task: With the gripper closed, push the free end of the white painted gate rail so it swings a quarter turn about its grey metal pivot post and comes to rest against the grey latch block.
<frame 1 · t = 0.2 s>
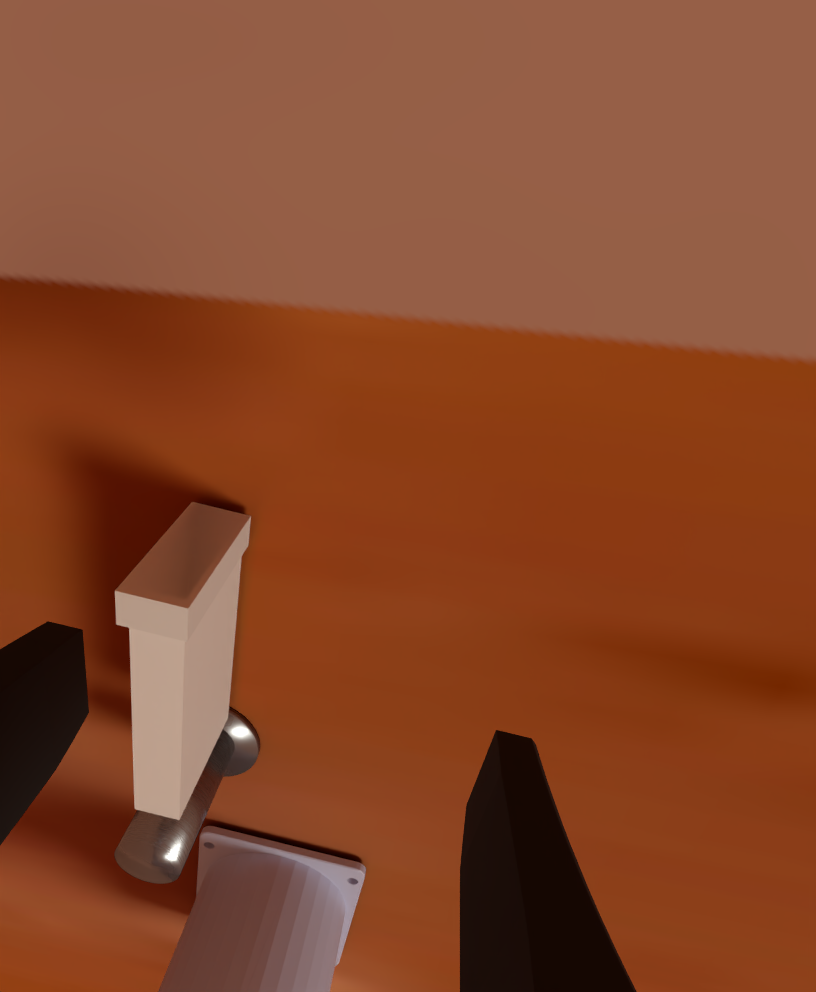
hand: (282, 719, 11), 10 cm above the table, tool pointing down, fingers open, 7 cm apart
pivot post: (210, 736, 27), on the table
gate: (186, 668, 21), point 3 cm above the table, hinge at 0.0°
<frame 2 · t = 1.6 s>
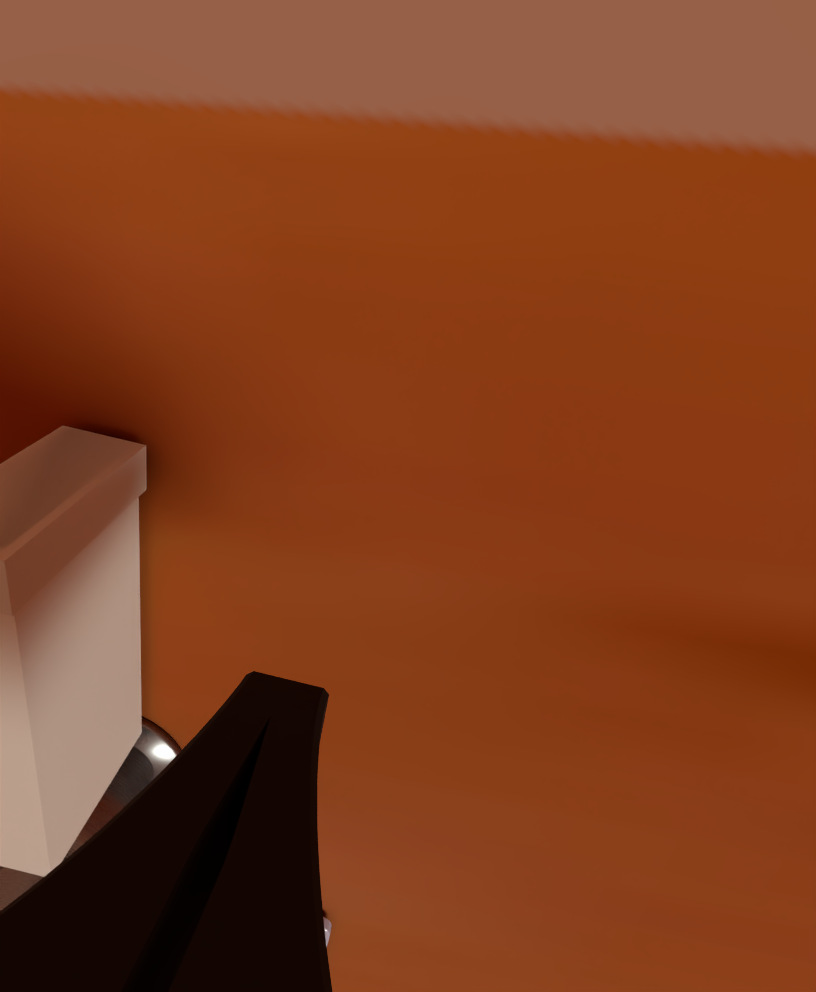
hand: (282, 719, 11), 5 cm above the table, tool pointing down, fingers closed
pivot post: (123, 756, 21), on the table
gate: (57, 663, 15), point 3 cm above the table, hinge at 0.0°
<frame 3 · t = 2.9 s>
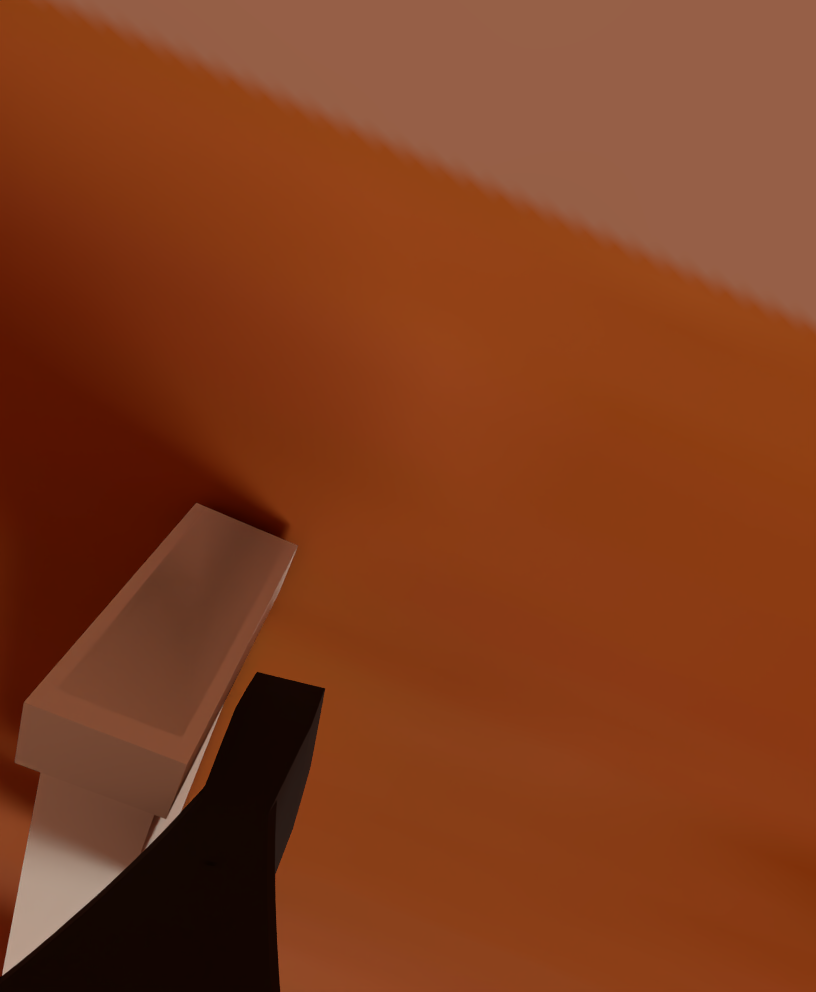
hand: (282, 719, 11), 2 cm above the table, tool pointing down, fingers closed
gate: (132, 792, 12), point 3 cm above the table, hinge at 4.8°, touching gripper
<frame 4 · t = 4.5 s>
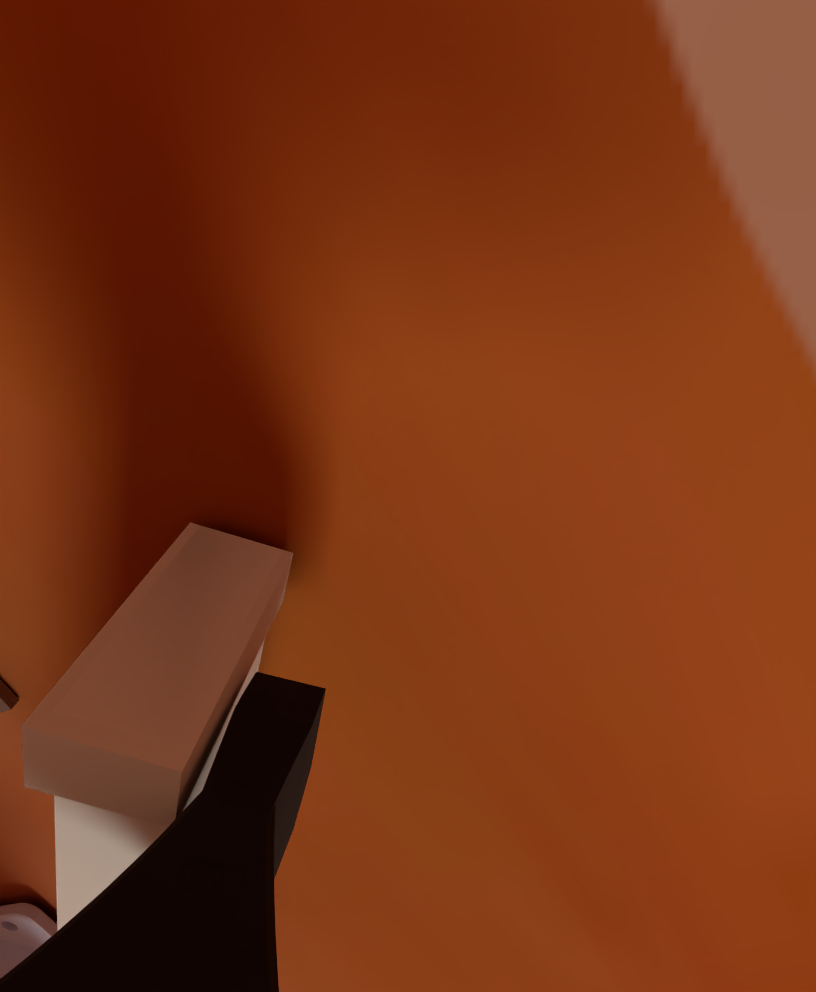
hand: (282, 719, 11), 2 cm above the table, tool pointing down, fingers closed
gate: (163, 812, 12), point 3 cm above the table, hinge at 50.6°, touching gripper
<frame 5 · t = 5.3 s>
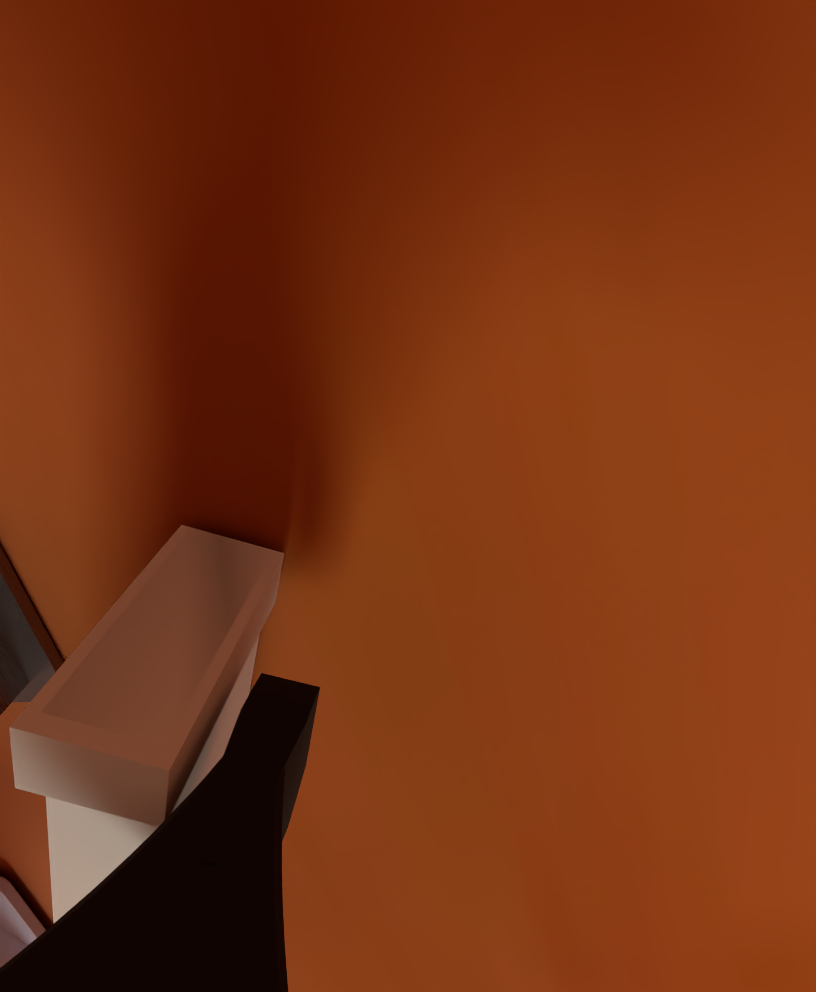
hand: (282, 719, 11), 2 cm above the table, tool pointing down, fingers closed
gate: (160, 813, 12), point 3 cm above the table, hinge at 66.3°, touching gripper
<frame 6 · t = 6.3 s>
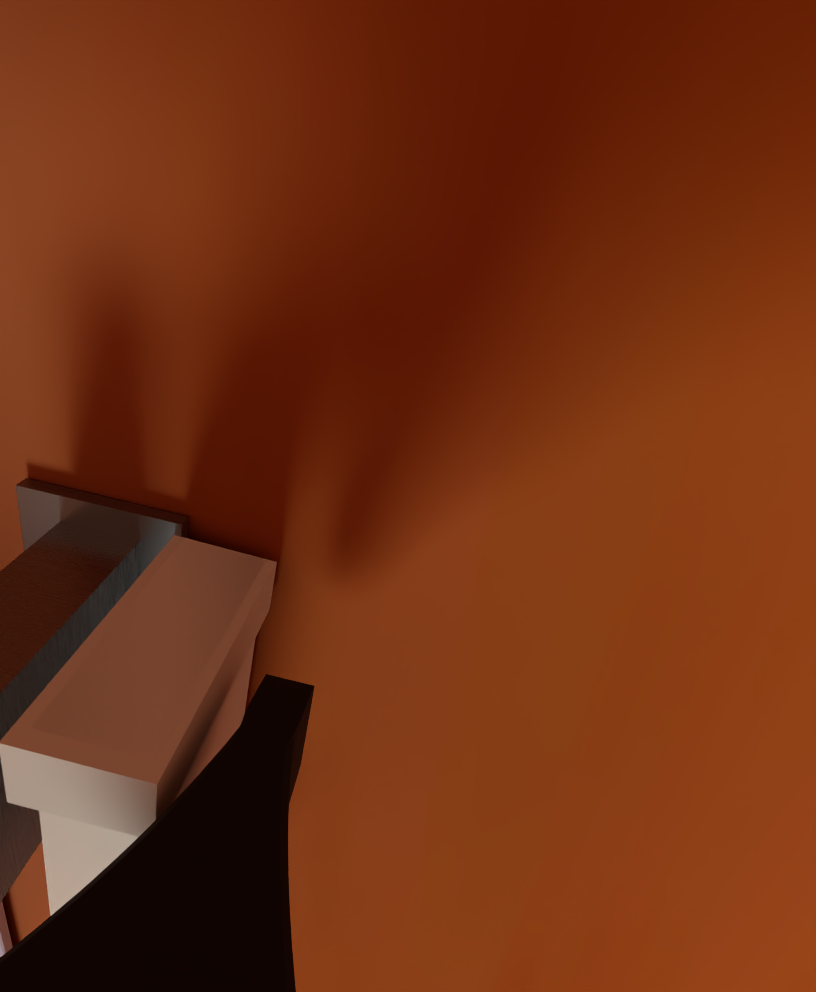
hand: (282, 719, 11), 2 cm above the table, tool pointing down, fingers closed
latch block: (112, 601, 13), on the table
gate: (158, 822, 12), point 3 cm above the table, hinge at 88.2°, touching gripper, latch block
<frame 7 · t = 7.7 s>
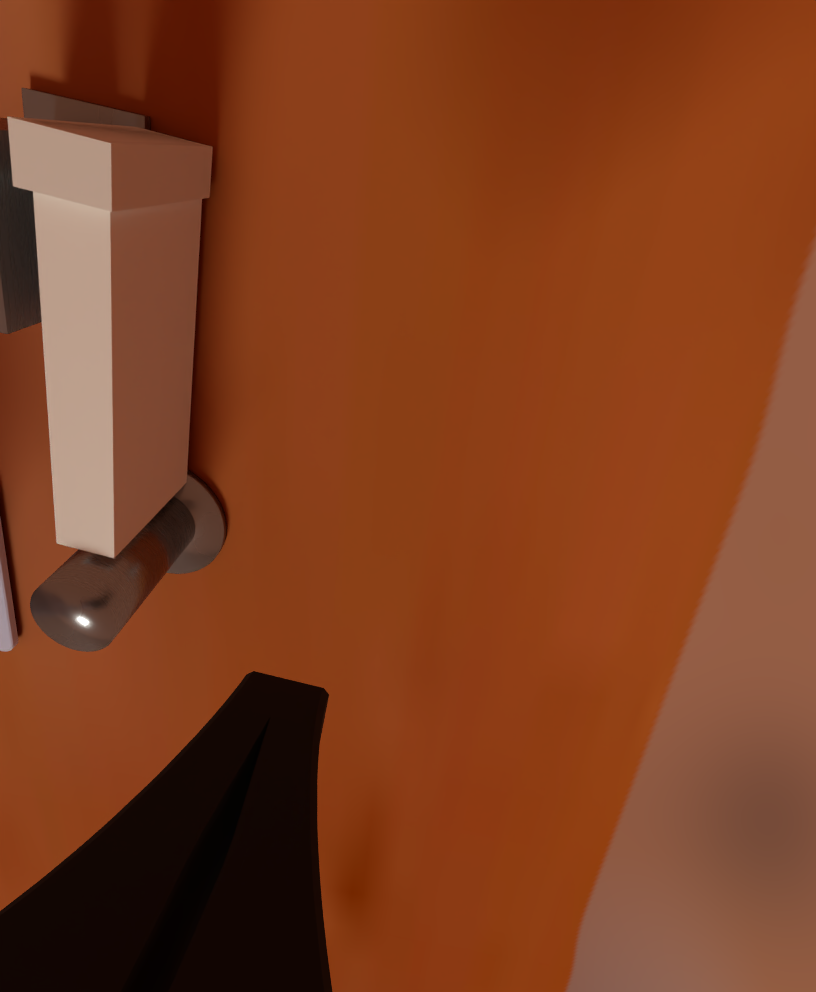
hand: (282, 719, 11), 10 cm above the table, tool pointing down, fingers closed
pivot post: (165, 516, 22), on the table
latch block: (94, 211, 17), on the table
gate: (125, 351, 16), point 3 cm above the table, hinge at 88.6°, touching latch block
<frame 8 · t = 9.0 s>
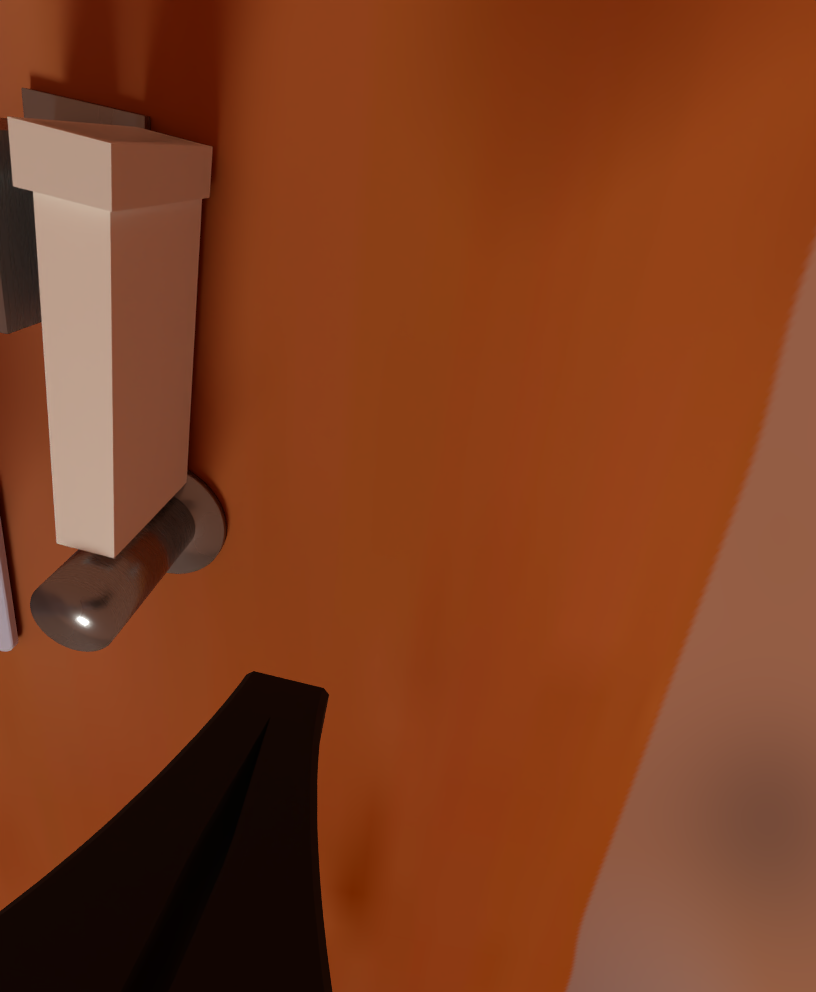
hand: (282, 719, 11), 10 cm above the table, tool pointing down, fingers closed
pivot post: (165, 516, 22), on the table
latch block: (94, 211, 17), on the table
gate: (125, 351, 16), point 3 cm above the table, hinge at 88.6°, touching latch block
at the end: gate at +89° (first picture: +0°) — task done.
